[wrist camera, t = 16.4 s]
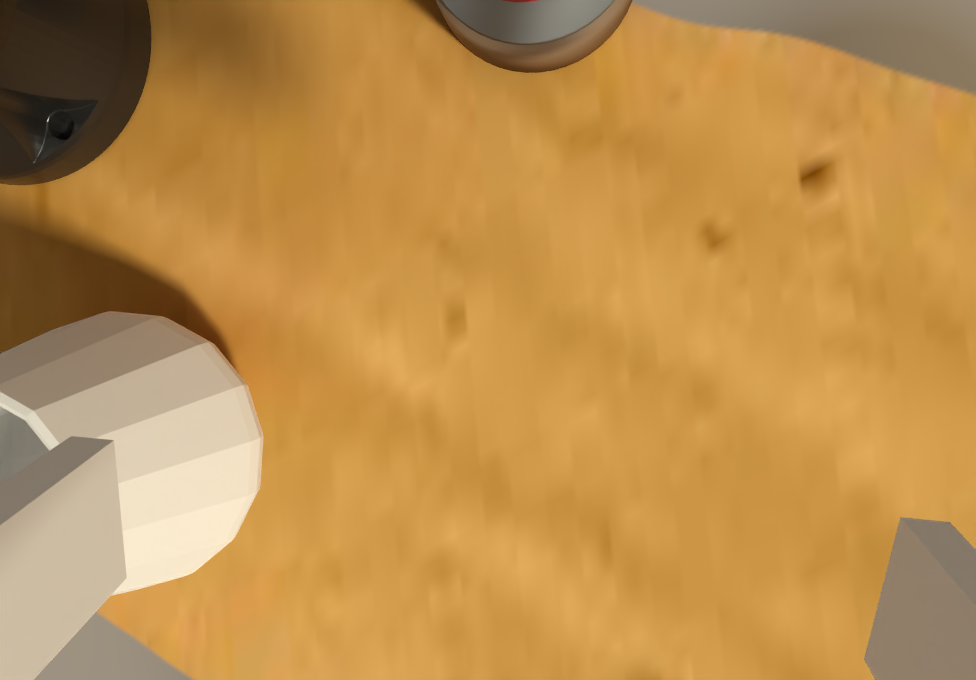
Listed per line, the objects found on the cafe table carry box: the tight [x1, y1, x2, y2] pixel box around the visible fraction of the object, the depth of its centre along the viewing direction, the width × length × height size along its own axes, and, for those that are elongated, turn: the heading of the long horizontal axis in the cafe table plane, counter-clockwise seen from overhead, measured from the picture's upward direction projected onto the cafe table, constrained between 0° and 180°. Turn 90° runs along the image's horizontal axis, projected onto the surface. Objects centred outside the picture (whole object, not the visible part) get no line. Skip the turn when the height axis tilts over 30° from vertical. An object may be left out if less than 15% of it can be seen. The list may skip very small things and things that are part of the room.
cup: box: [0, 311, 263, 596], centre depth 34 cm, size 13×13×14 cm
